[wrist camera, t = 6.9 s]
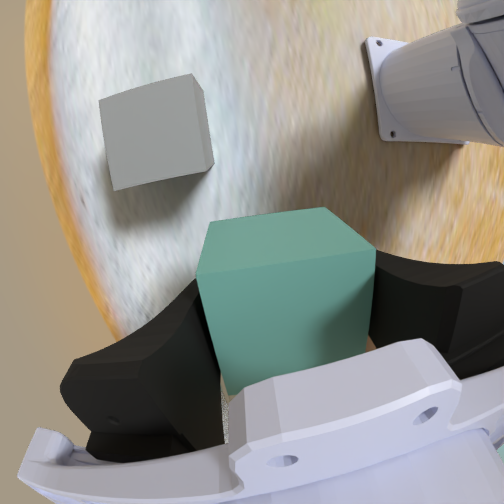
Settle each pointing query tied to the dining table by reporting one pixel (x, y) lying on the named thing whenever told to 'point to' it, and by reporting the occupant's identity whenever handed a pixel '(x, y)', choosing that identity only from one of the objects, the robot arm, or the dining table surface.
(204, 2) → the dining table surface
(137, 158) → the slate block
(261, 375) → the teal block
